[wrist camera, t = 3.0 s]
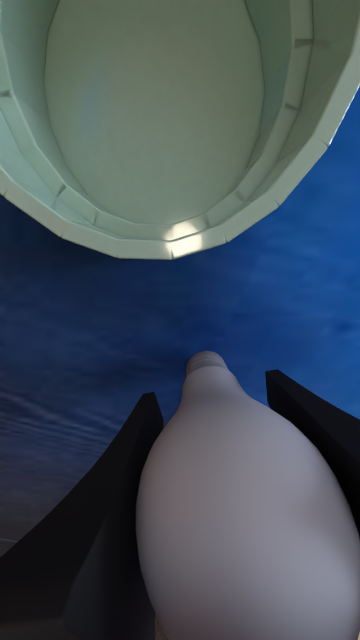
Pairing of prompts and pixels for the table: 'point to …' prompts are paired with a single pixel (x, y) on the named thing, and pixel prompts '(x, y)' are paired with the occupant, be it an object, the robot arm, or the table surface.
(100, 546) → the robot arm
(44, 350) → the table surface
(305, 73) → the bowl
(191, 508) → the lightbulb
